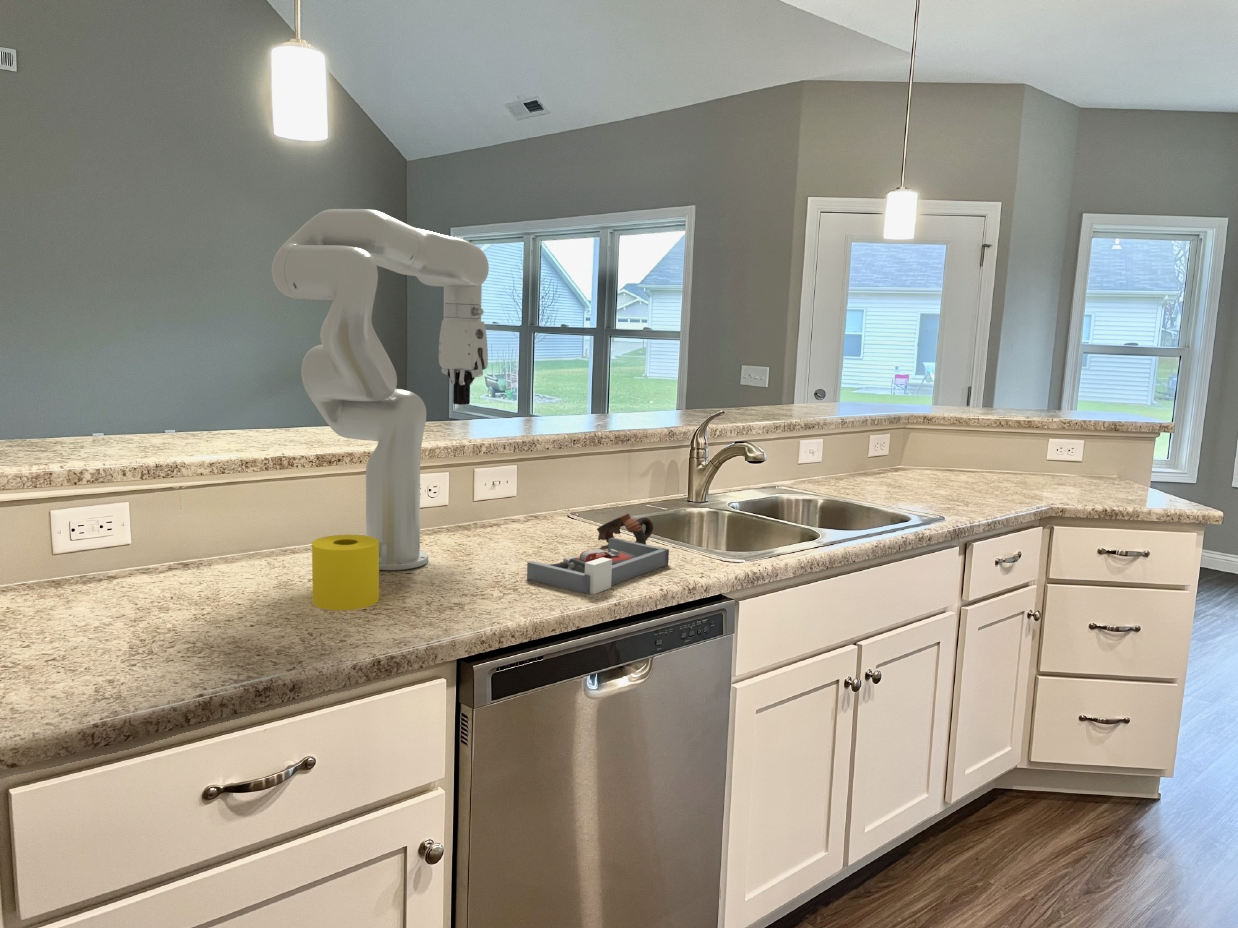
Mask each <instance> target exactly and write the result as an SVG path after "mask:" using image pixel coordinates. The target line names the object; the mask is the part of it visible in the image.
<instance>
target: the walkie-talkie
mask: <svg viewBox="0 0 1238 928" xmlns="http://www.w3.org/2000/svg"><path fill="white" fill-rule="evenodd" d="M610 551H611V552H609V553H608V551H606V550H603V549H601V548H598V549H597V548H596V549H591V550H584V551H582V552H580V555H579V556H573V557H565V558H563V559H562V561H560V562H557V563H551V564H549V565H551V566H555V567H559V568H564V569H568V570H572V571H576V572H581V573H585V563H586V562H589V561H592V560H596V559H599V558H602V557H604V558H608V559H612V565H615V564H618V563H621V562H624V561H627V560H630V559H633V558H636V556H634V555H632V554H629V553H626V552H623V551H617V550H614V549H610Z"/></svg>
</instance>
